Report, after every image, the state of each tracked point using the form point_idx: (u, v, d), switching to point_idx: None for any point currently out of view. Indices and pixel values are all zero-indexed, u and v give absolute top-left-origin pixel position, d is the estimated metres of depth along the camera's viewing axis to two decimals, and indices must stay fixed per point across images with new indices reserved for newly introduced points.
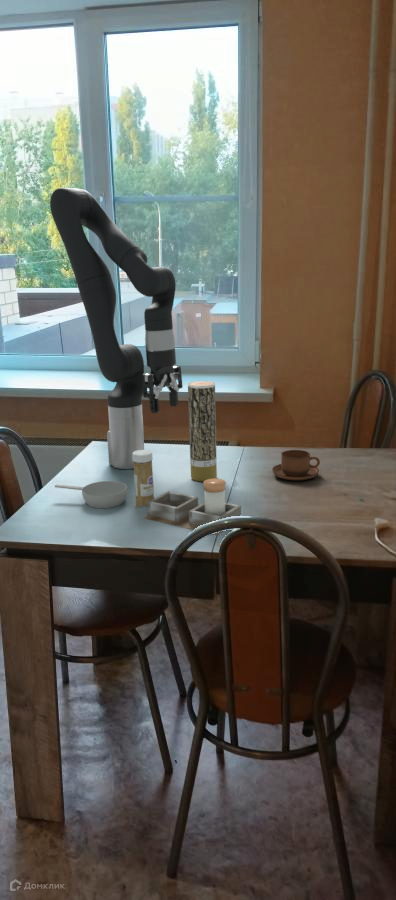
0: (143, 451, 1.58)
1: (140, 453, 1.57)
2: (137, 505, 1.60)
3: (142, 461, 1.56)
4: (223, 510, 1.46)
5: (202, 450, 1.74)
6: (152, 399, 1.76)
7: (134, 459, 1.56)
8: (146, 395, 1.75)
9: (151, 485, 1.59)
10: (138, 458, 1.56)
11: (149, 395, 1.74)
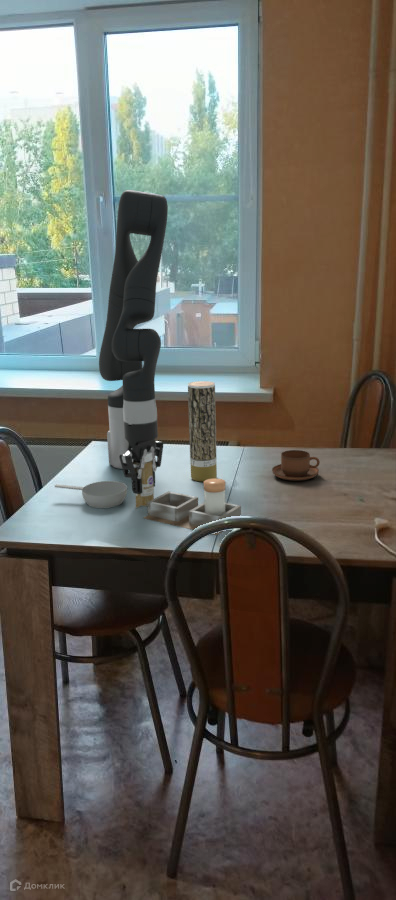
0: None
1: None
2: (137, 505, 1.60)
3: None
4: (223, 510, 1.46)
5: (202, 450, 1.74)
6: (134, 479, 1.56)
7: None
8: (128, 476, 1.55)
9: (151, 485, 1.59)
10: None
11: (131, 476, 1.54)
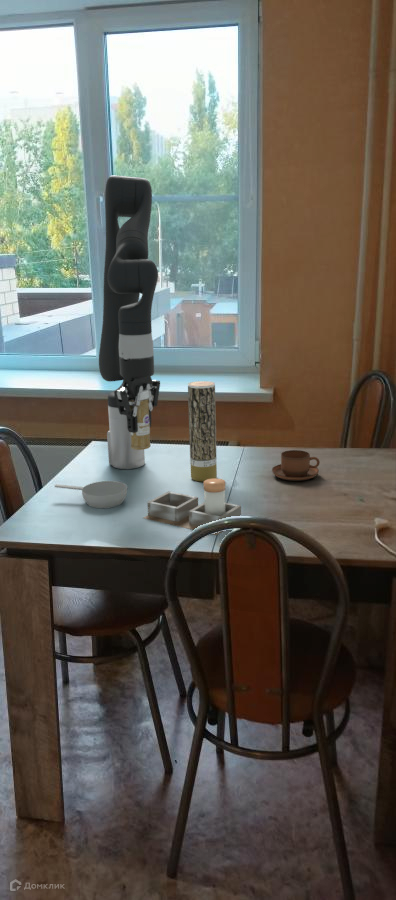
0: None
1: None
2: (132, 445, 1.56)
3: None
4: (223, 510, 1.46)
5: (202, 450, 1.74)
6: (130, 417, 1.52)
7: None
8: (123, 413, 1.51)
9: (147, 424, 1.55)
10: None
11: (126, 412, 1.50)
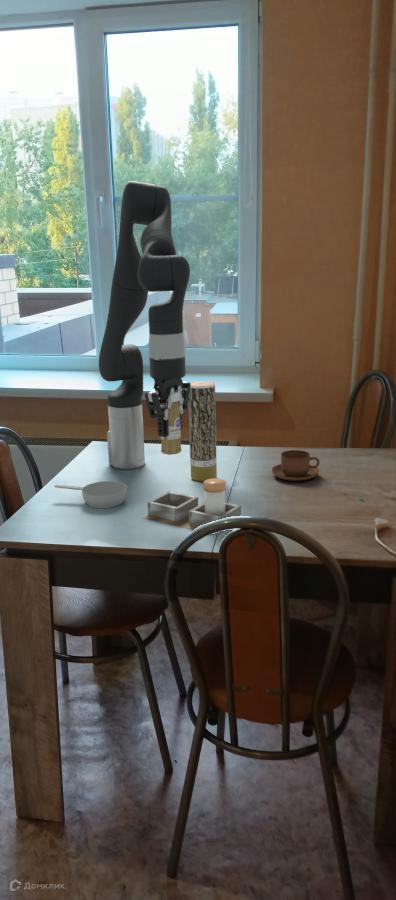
0: None
1: None
2: (163, 449, 1.49)
3: None
4: (223, 510, 1.46)
5: (202, 450, 1.74)
6: (161, 420, 1.45)
7: None
8: (154, 416, 1.44)
9: (178, 428, 1.48)
10: None
11: (157, 416, 1.43)
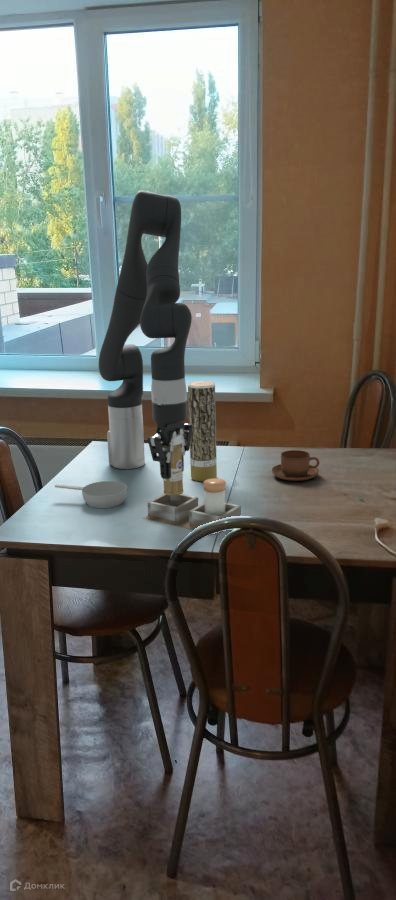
0: None
1: None
2: (165, 491, 1.52)
3: None
4: (223, 510, 1.46)
5: (202, 450, 1.74)
6: (163, 463, 1.48)
7: None
8: (156, 460, 1.47)
9: (180, 470, 1.50)
10: None
11: (160, 459, 1.46)
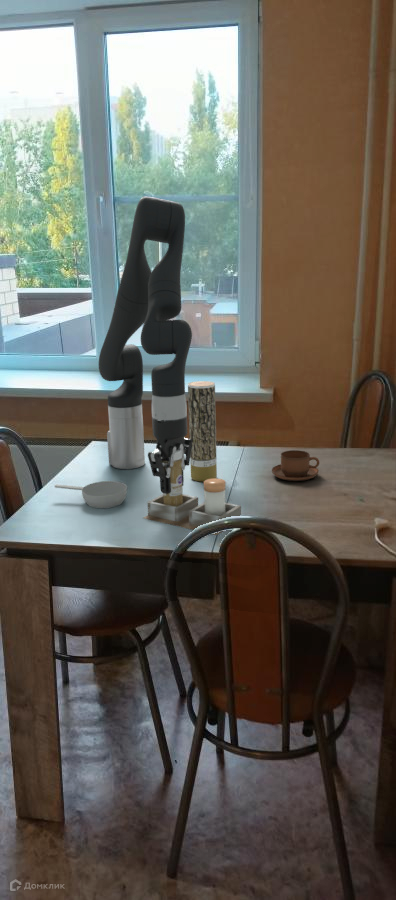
0: None
1: None
2: None
3: None
4: (223, 510, 1.46)
5: (202, 450, 1.74)
6: (163, 478, 1.49)
7: None
8: (156, 475, 1.48)
9: (180, 484, 1.51)
10: None
11: (160, 474, 1.47)
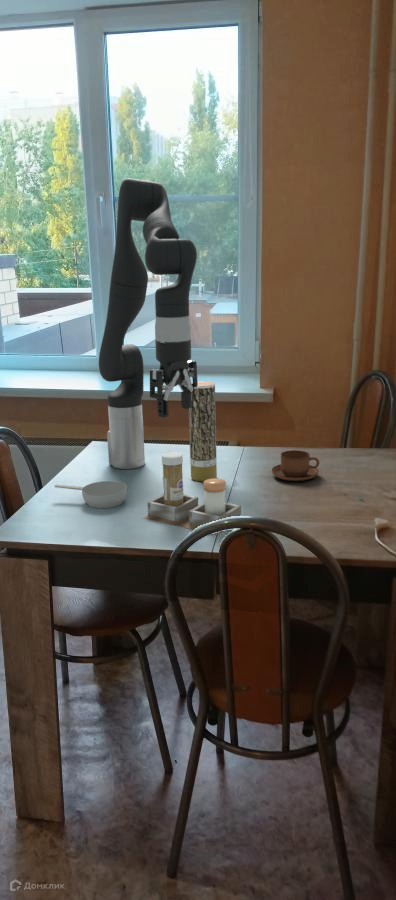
0: (173, 453, 1.51)
1: (170, 455, 1.50)
2: None
3: (172, 464, 1.49)
4: (223, 510, 1.46)
5: (202, 450, 1.74)
6: (160, 400, 1.45)
7: (164, 462, 1.50)
8: (153, 395, 1.43)
9: (181, 489, 1.52)
10: (168, 461, 1.49)
11: (157, 396, 1.43)
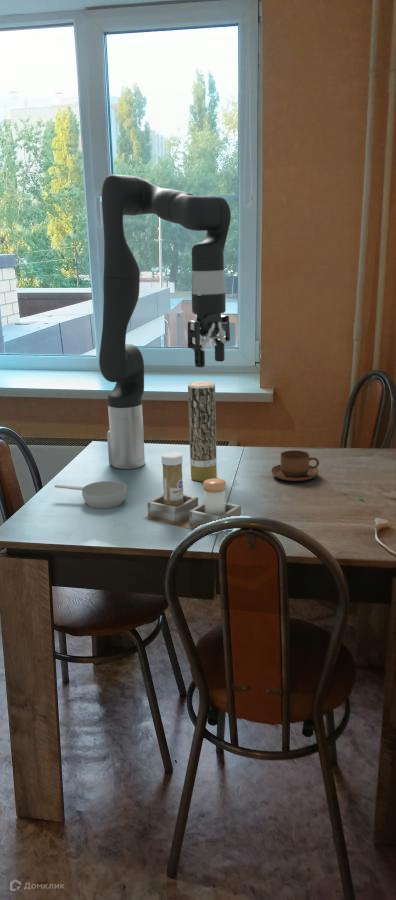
0: (173, 453, 1.51)
1: (170, 455, 1.50)
2: None
3: (172, 464, 1.49)
4: (223, 510, 1.46)
5: (202, 450, 1.74)
6: (198, 351, 1.53)
7: (163, 462, 1.50)
8: (191, 346, 1.51)
9: (181, 489, 1.52)
10: (168, 461, 1.49)
11: (195, 345, 1.51)
